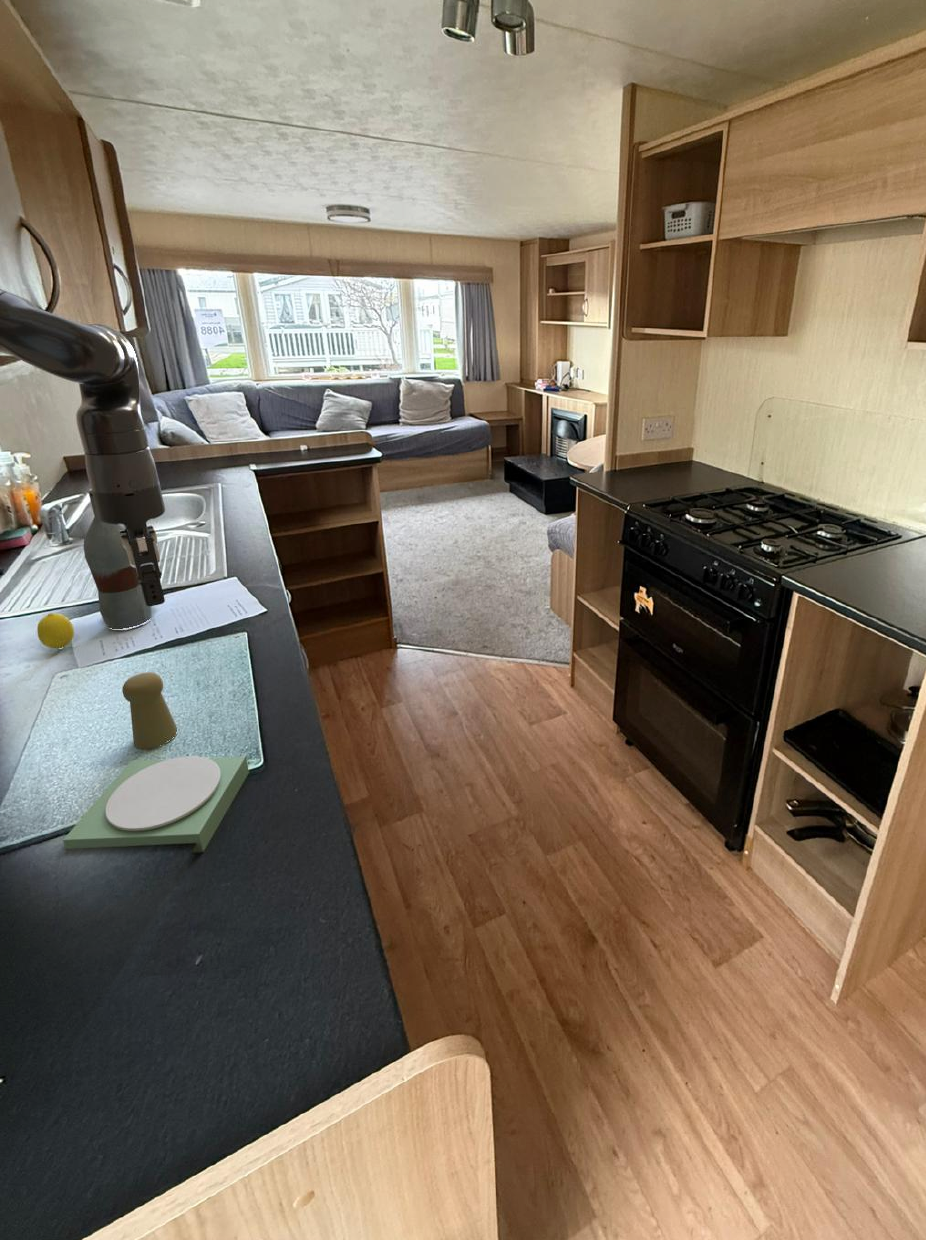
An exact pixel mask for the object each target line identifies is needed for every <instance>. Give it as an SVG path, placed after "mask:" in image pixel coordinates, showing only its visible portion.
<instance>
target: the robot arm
mask: <svg viewBox="0 0 926 1240" xmlns="http://www.w3.org/2000/svg"><path fill="white" fill-rule="evenodd" d="M0 353H1V354H2V353H3V354H6V355H10V356H12V357H14V358H16V359H18V360H20V361H22V362H24V363H26V364H28V365H31V366H33V367H35V368H37V369H39V370H42V371H44V372H46V373H48V374H51V375H53V376H55V377H58V378H60V379H64V380H66V381H69V382H73V383H77V384H78V385H79V392H80V398H81V399H80V400H81V403H80V406H79V407H78V409H77V410H76V413H75V420H76V426H77V430H78V434H79V437H80V441H81V445H82V449H83V454H84V458H85V460H84V461H85V469H86V475H87V479H88V482H89V485H90V490H92V494H93V497H94V501H95V505H96V509H97V513H98V517H99V519H100V520H101V521H102V522H104V523H107V524H115V525H117V524H122V525H123V526H124V527H125V530H119V532H120V536H121V540H122V543H123V547H124V548H125V549H126V551H127V554H128V558H129V562H130V565H131V566H132V567H134V568H136V571H137V575H138V576H137V580H139V583H140V585H141V587H142V591H143V595H144V599H145V603H146V605H147V606H149V607H151V608H152V607H155V606H160V605H163V604H164V603H165V602H166V599H165V594H164V591H163V587H162V583H161V579H162V576H163V573H162V571H161V570H160V565H159V563H160V561H161V556H160V552H159V548H158V545H157V544H158V537H157V533H156V529H155V528H154V525H153V524H151V525H147V522H148V521H150V520H154V519H157V518H159V517H161V516H162V515H164V513H165V512H166V507H165V501H164V498H163V497H164V496H163V493H162V488H161V483H160V479H159V474H158V470H157V465H156V462H155V459H154V456H153V454H152V451H151V448H150V445H149V440H148V435H147V431H146V430H147V429H146V427H145V423H144V419H143V416H142V411H141V386H140V384H141V383H140V374H139V373H140V371H139V365H138V361H137V360H138V359H137V357H136V353H135V351H134V348H133V346H132V345H131V343H130V340H128V339H127V338H126V336H125V335H124V334H122V333H121V332H120V331H119V330H117V329H115V328H113V327H111V326H108V325H105V324H100V323H98V324H97V323H82V322H78V321H75V320H71V319H69V318H66V317H64V316H60V315H58V314H55V313H52V312H51V311H50V312H49V311H47V310H44V309H41V308H39V307H38V305H36V304H34V303H33V302H32V301H30V300H28V299H26V298H24V297H22V296H19V295H18V294H15V293H12V292H9V291H8V290H4V289H1V288H0Z"/></svg>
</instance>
